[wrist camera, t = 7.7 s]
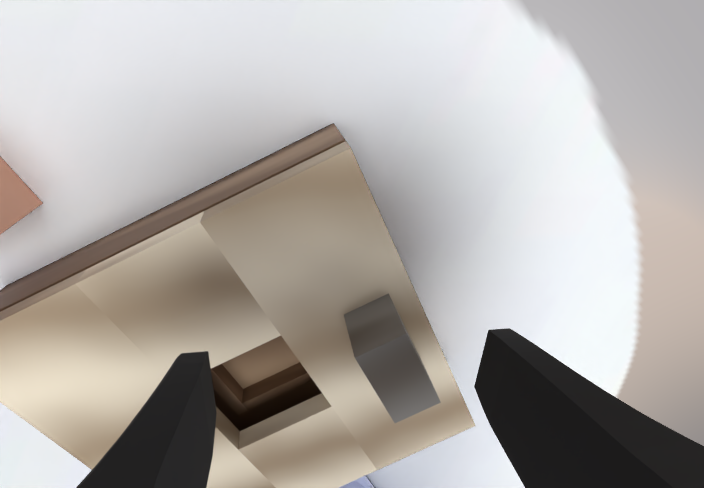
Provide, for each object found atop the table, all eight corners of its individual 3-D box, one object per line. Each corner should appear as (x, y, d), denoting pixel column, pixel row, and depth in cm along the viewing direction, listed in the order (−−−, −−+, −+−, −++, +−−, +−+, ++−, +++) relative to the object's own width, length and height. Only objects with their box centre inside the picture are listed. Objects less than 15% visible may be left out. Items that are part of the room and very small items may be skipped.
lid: (467, 410, 22) (499, 471, 19) (203, 530, 23) (193, 607, 20) (345, 141, 14) (366, 170, 11) (-47, 335, 15) (-129, 411, 12)
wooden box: (444, 366, 25) (465, 405, 22) (211, 473, 26) (204, 524, 23) (333, 123, 17) (344, 138, 15) (5, 286, 18) (-41, 329, 15)
